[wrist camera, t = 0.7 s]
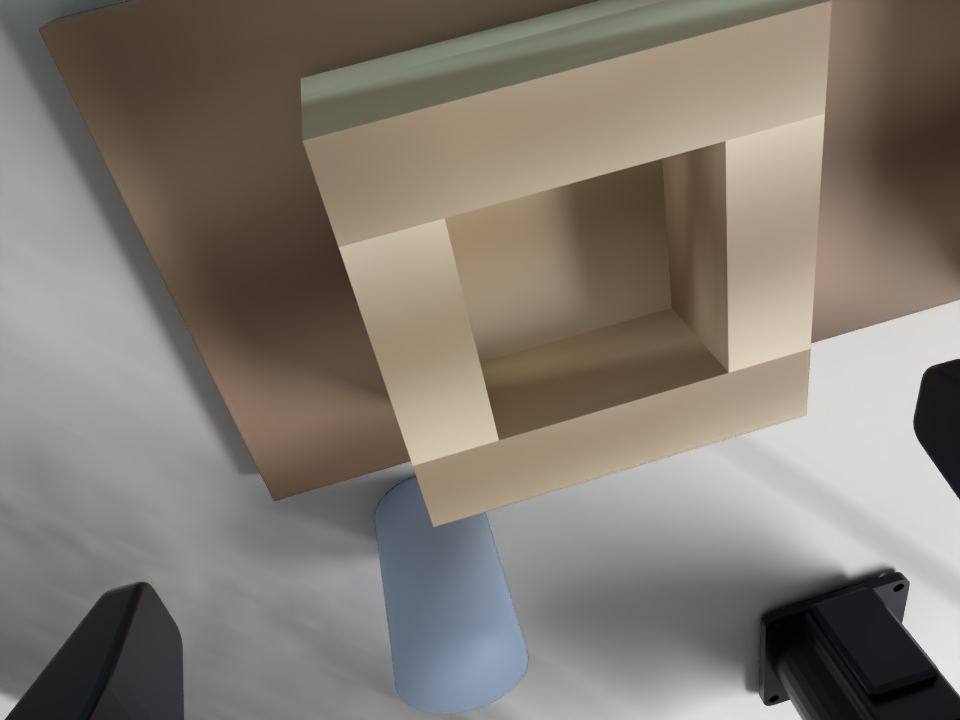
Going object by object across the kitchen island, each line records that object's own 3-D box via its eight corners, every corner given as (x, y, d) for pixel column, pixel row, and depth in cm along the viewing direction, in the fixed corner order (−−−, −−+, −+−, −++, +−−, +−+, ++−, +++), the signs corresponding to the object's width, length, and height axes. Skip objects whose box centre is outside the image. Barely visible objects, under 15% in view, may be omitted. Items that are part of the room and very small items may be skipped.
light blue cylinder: (491, 535, 26) (537, 689, 21) (390, 566, 26) (414, 728, 21) (470, 460, 24) (516, 610, 19) (361, 491, 24) (379, 652, 19)
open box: (716, 321, 21) (806, 415, 18) (408, 410, 21) (433, 526, 17) (708, -29, 16) (832, 0, 12) (300, 78, 16) (302, 140, 12)
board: (1004, 261, 24) (1225, 381, 18) (275, 473, 23) (268, 676, 17) (1116, -247, 17) (1541, -310, 11) (54, 19, 16) (-87, 103, 10)
